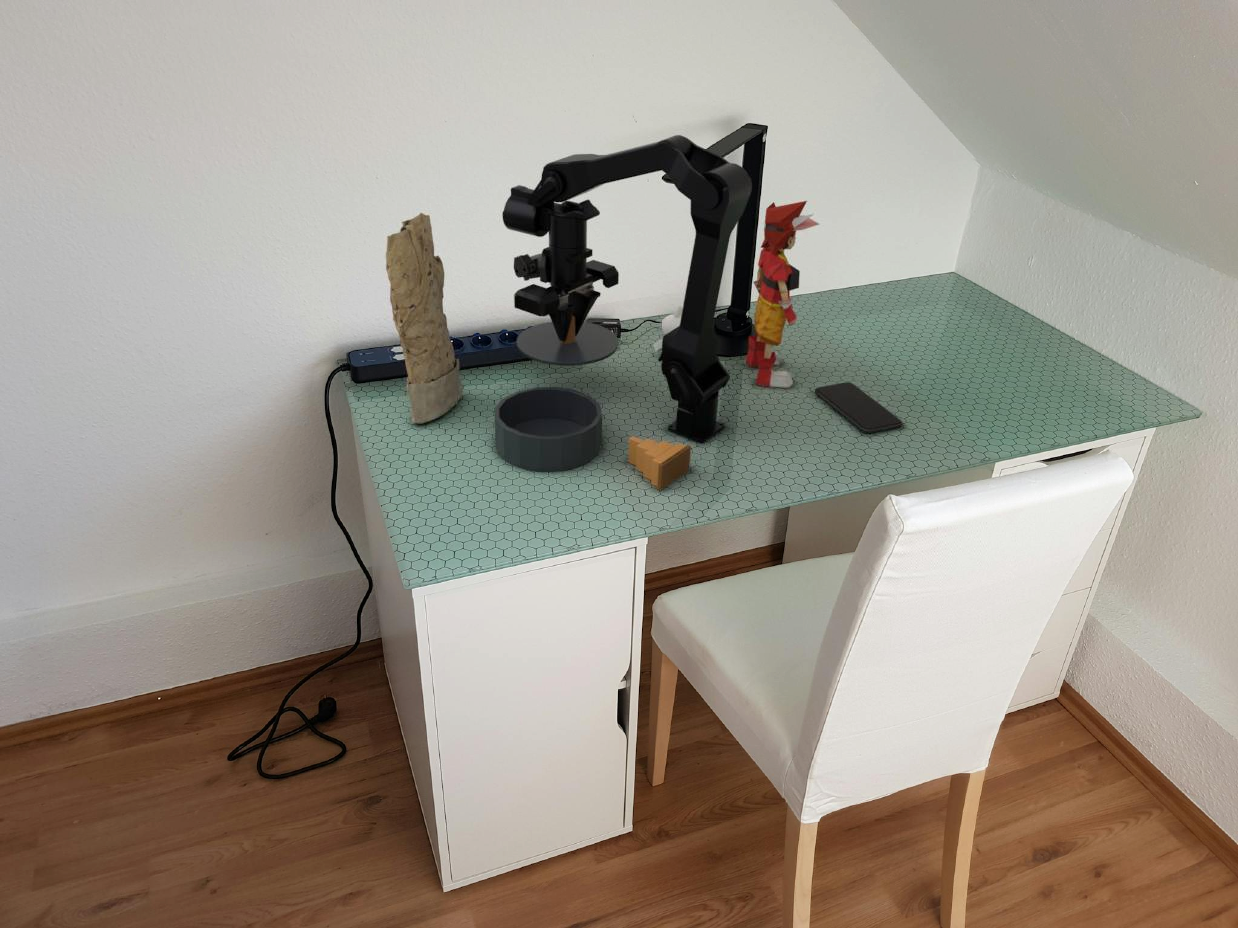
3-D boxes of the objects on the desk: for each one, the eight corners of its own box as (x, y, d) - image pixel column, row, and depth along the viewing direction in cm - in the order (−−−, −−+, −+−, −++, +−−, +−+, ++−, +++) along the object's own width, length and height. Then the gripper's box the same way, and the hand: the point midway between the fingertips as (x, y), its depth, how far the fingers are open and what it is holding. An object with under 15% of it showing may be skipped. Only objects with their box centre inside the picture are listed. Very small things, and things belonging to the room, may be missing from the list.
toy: (811, 385, 163) (837, 207, 148) (764, 393, 161) (785, 212, 145) (776, 356, 173) (796, 185, 157) (730, 363, 170) (747, 190, 154)
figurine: (708, 376, 165) (713, 315, 160) (684, 383, 163) (688, 321, 157) (667, 350, 174) (671, 291, 168) (644, 356, 172) (646, 296, 166)
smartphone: (904, 427, 152) (849, 385, 164) (905, 422, 152) (850, 380, 163) (864, 435, 149) (811, 392, 161) (865, 430, 149) (812, 387, 161)
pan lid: (562, 318, 167) (562, 290, 164) (638, 345, 158) (639, 315, 156) (495, 349, 156) (494, 319, 153) (573, 379, 147) (573, 348, 145)
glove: (472, 420, 150) (461, 229, 135) (404, 429, 147) (384, 234, 132) (457, 381, 161) (445, 200, 146) (393, 388, 158) (374, 205, 143)
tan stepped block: (689, 470, 140) (691, 446, 138) (660, 490, 135) (662, 466, 133) (644, 451, 144) (645, 427, 142) (614, 470, 139) (615, 446, 137)
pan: (544, 409, 154) (543, 377, 151) (621, 441, 146) (623, 408, 143) (473, 447, 144) (472, 413, 141) (553, 484, 136) (553, 449, 133)
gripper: (567, 217, 159) (567, 308, 167) (485, 246, 146) (490, 342, 154) (621, 232, 153) (619, 325, 161) (541, 263, 140) (543, 362, 148)
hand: (568, 338), depth 156 cm, fingers closed on pan lid, 2 cm apart
